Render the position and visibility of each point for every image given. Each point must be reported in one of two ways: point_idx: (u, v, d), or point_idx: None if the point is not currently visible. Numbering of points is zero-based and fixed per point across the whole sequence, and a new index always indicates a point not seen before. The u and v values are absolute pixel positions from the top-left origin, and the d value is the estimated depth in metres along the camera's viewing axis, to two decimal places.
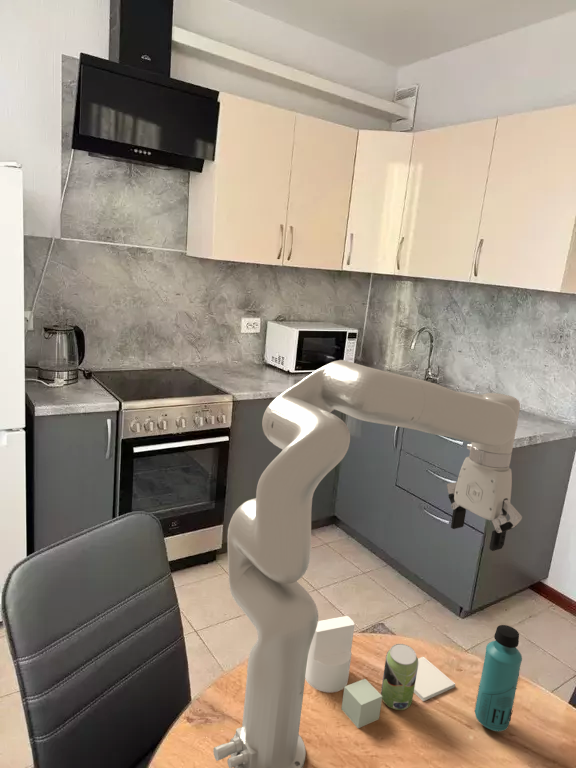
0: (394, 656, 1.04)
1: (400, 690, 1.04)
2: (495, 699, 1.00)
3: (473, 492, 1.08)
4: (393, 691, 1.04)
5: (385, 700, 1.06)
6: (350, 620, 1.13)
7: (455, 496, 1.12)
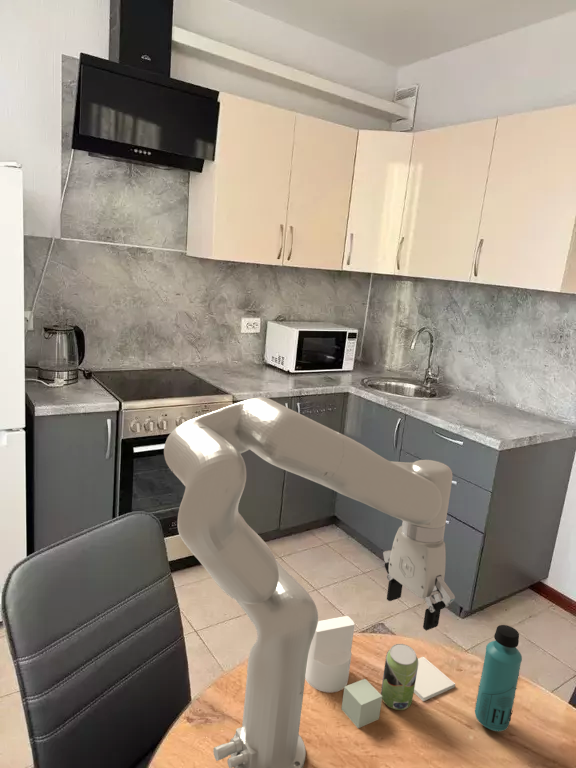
0: (394, 657, 1.04)
1: (400, 690, 1.04)
2: (495, 699, 1.00)
3: (406, 566, 1.01)
4: (393, 691, 1.04)
5: (385, 700, 1.06)
6: (350, 620, 1.13)
7: (389, 568, 1.05)
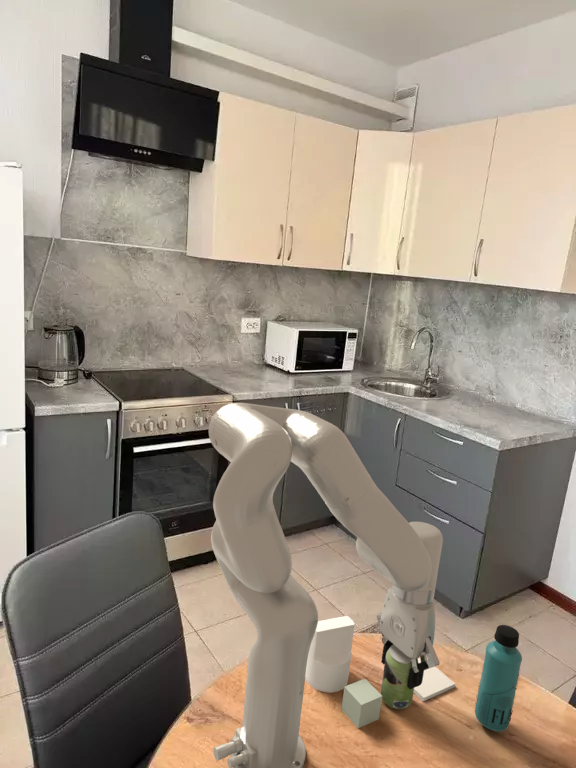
0: (394, 655, 1.04)
1: (400, 689, 1.04)
2: (495, 699, 1.00)
3: (396, 626, 1.03)
4: (393, 690, 1.04)
5: (385, 699, 1.06)
6: (350, 620, 1.13)
7: (380, 625, 1.07)
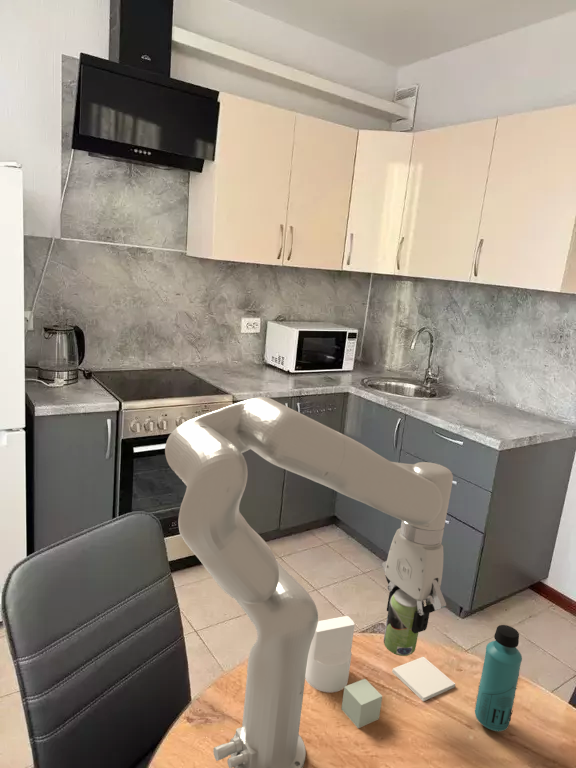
0: (399, 599, 1.02)
1: (404, 634, 1.01)
2: (495, 699, 1.00)
3: (403, 568, 1.00)
4: (397, 635, 1.02)
5: (388, 646, 1.04)
6: (350, 620, 1.13)
7: (386, 570, 1.04)
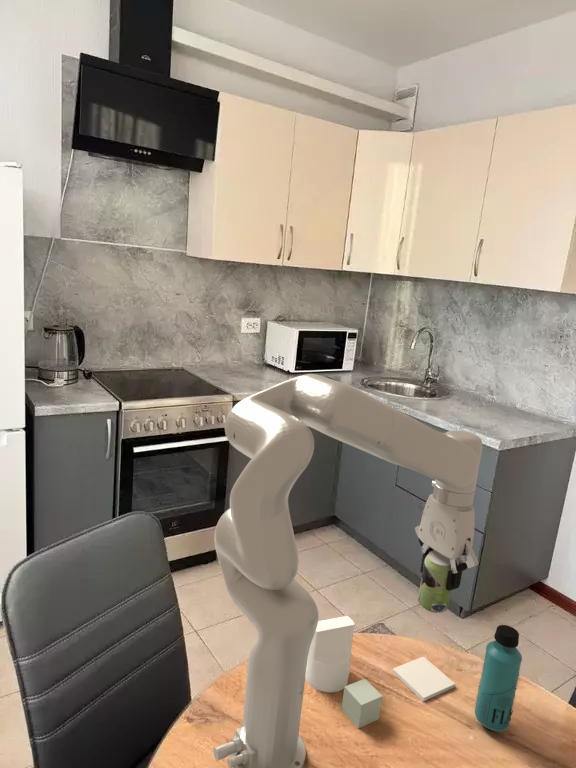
0: (433, 559, 1.08)
1: (439, 592, 1.08)
2: (495, 699, 1.00)
3: (436, 530, 1.07)
4: (432, 593, 1.09)
5: (423, 604, 1.11)
6: (350, 620, 1.13)
7: (419, 533, 1.11)
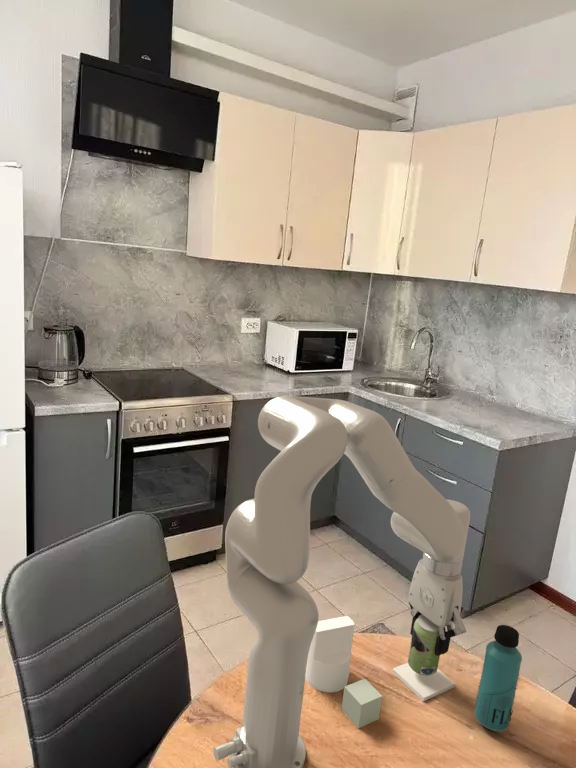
0: (422, 625, 1.11)
1: (428, 656, 1.11)
2: (495, 699, 1.00)
3: (425, 597, 1.10)
4: (421, 657, 1.11)
5: (413, 667, 1.13)
6: (350, 620, 1.13)
7: (409, 597, 1.14)
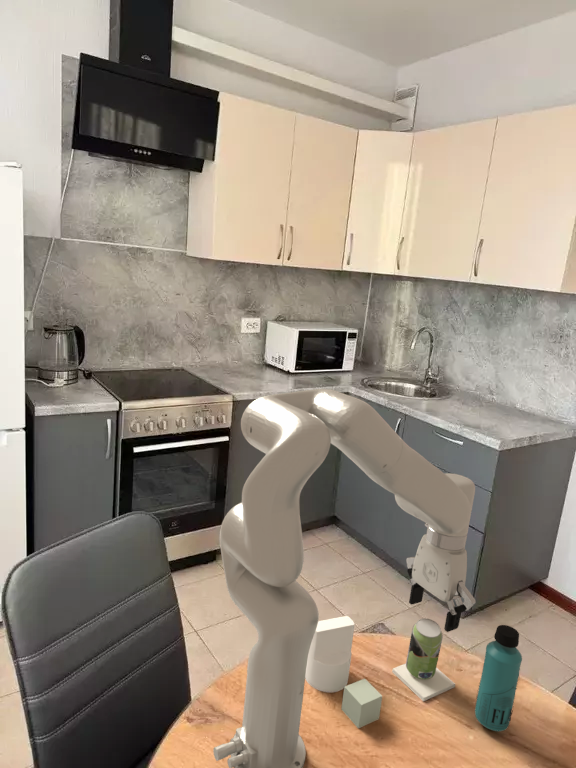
0: (420, 630, 1.11)
1: (426, 661, 1.11)
2: (495, 699, 1.00)
3: (429, 571, 1.09)
4: (419, 662, 1.12)
5: (410, 670, 1.14)
6: (350, 620, 1.13)
7: (413, 573, 1.13)
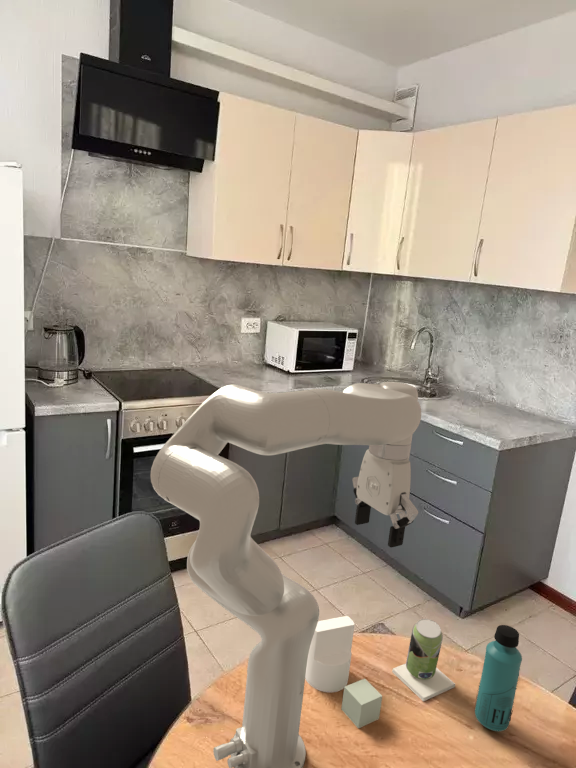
0: (420, 630, 1.11)
1: (426, 661, 1.11)
2: (495, 699, 1.00)
3: (372, 485, 1.03)
4: (419, 662, 1.12)
5: (410, 670, 1.14)
6: (350, 620, 1.13)
7: (357, 490, 1.07)
